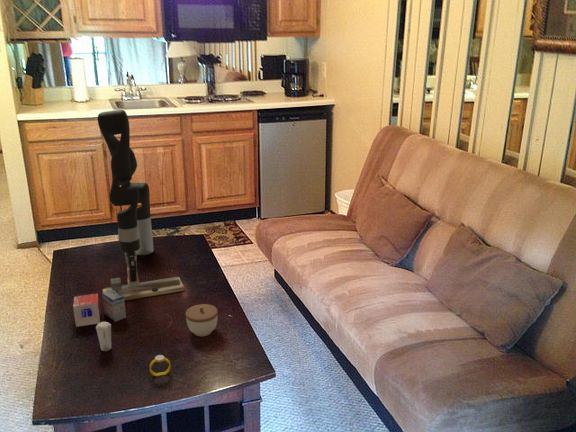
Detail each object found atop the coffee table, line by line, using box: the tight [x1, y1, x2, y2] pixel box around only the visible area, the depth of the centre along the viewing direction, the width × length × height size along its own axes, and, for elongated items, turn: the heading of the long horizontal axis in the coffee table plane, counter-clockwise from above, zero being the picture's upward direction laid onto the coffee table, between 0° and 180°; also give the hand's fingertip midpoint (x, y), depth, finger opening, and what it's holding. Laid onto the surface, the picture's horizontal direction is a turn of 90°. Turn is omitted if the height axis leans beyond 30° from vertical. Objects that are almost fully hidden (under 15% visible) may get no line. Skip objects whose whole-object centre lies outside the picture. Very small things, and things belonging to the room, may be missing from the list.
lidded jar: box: [185, 303, 219, 337], centre depth 175 cm, size 11×11×9 cm
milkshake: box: [95, 321, 112, 352], centre depth 165 cm, size 4×5×10 cm
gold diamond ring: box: [149, 354, 172, 377], centre depth 153 cm, size 6×3×6 cm, turn 108°
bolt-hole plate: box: [102, 276, 185, 302], centre depth 204 cm, size 10×30×6 cm, turn 112°
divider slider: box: [126, 266, 140, 291], centre depth 202 cm, size 4×4×9 cm
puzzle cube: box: [72, 293, 101, 328], centre depth 183 cm, size 8×8×8 cm
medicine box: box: [101, 290, 127, 323], centre depth 185 cm, size 8×4×9 cm, turn 47°
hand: (133, 278), depth 202 cm, fingers closed on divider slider, 3 cm apart
